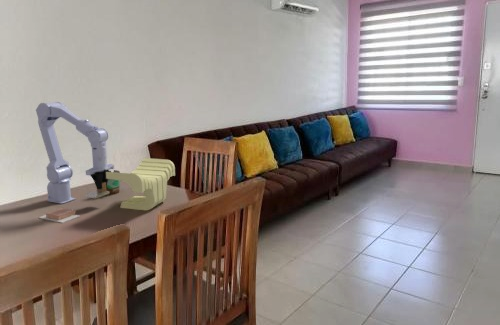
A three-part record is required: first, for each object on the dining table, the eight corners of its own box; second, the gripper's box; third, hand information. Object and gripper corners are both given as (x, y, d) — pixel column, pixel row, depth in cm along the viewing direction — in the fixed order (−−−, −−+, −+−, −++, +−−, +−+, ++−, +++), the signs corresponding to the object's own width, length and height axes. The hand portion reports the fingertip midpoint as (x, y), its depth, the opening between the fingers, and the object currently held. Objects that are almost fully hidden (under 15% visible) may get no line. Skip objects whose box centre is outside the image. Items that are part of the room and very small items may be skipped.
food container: (113, 196, 185) (112, 176, 183) (101, 196, 186) (100, 175, 184) (126, 189, 197) (125, 170, 195) (115, 189, 198) (114, 169, 196)
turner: (98, 191, 174) (98, 181, 173) (109, 193, 172) (108, 182, 171) (84, 196, 167) (83, 185, 166) (95, 198, 165) (94, 186, 164)
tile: (62, 211, 163) (46, 217, 156) (62, 207, 162) (45, 213, 155) (75, 214, 160) (59, 220, 153) (75, 210, 160) (58, 216, 153)
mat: (38, 217, 156) (38, 217, 156) (56, 211, 163) (56, 211, 163) (62, 223, 151) (62, 222, 151) (79, 216, 158) (79, 215, 158)
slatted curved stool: (143, 217, 158) (141, 174, 154) (108, 213, 162) (105, 171, 158) (175, 196, 186) (174, 160, 183) (145, 194, 190) (143, 158, 187)
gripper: (93, 161, 160) (96, 193, 163) (118, 155, 173) (120, 185, 176) (80, 159, 163) (83, 191, 166) (106, 154, 176) (108, 183, 179)
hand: (101, 188), depth 171 cm, fingers closed on turner, 2 cm apart
